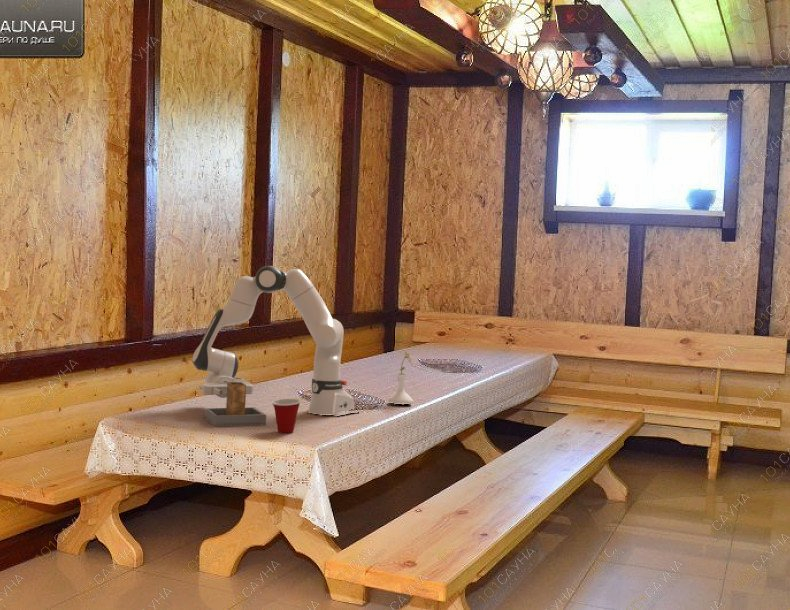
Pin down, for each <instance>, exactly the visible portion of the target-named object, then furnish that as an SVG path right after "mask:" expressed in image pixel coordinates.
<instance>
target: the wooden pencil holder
mask: <svg viewBox="0 0 790 610" xmlns="http://www.w3.org/2000/svg"><path fill="white" fill-rule="evenodd" d="M246 397H247V394H246V385H245V384H244V383H242V382H227V397H226V403H225V404H226V407H225V408H226V415H245V407H246V402H247V401H246Z"/></svg>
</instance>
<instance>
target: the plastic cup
mask: <svg viewBox="0 0 790 610" xmlns="http://www.w3.org/2000/svg"><path fill="white" fill-rule="evenodd" d="M271 403H272V406H273V409H274V413H275V414H274V415H275V421H276V422H275V423H276V428H277V432H278V433H279V434H293V433H294V431H295V430H294V429H295V426H296V421H297V417H298V411H299V407H300V404H301V400H300V399H298V398H282V399H276V400H275V399H274V400H272V401H271Z"/></svg>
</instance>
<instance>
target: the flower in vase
mask: <svg viewBox="0 0 790 610" xmlns="http://www.w3.org/2000/svg"><path fill="white" fill-rule="evenodd" d="M403 353H404V358H403V360H402V362H401V364H400V369H399V371H400V372H397V373H396V376H397V379H398V389H397V391H395V392H394V393H393V394H391V395H390V396H389V397H388V398H387V402H388V401H389V402H393V403H411V402H413V403H414V400H413V399H412V397H411V396H410V395H409V394H408V393H407V392H406V391H405V389H404V388H405V387H404V385H405V380H406V377H407V376H408V373H406V372H405V373H404V372H403V371H404V370H406V367H405V366H403V363H404V361H405V360H407V361H408V363H409V364H410V365H412V364H413V360H412V358H411V357H410V354H409V353H408V350H407V349H406V348H405V347H404V348H403ZM389 402H388V403H389Z"/></svg>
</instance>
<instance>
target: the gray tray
mask: <svg viewBox="0 0 790 610" xmlns="http://www.w3.org/2000/svg"><path fill="white" fill-rule="evenodd" d="M204 419H205V420H206V421H207V420H208V421H209V422H208V421H207V422H208V423H210V424H211V425H212V426H213V425H214V426H213V427H215V428H217V426H220V427H244V426H245V427H246V426H247V427H251V426H250V425H252V426H266V424H267V414H266V413H264V412H262V411H261V410H260V409H258V408H257V407H255V406H253V407H252V406H251V407H249V406H247V407H246V406H245V415H226V407H217V408H216V407H211V408H209V407H207V408H204Z"/></svg>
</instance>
